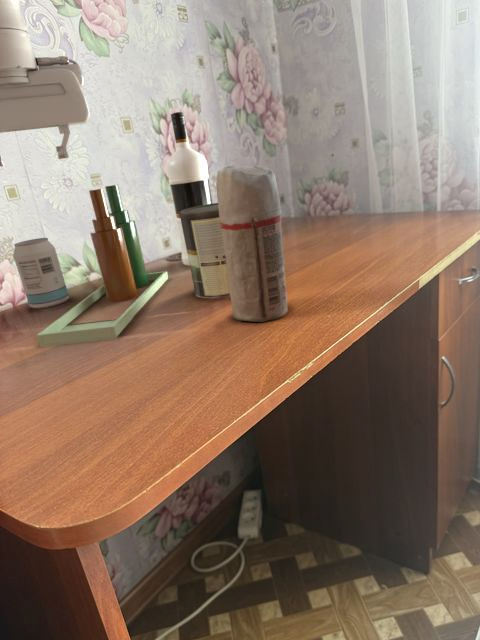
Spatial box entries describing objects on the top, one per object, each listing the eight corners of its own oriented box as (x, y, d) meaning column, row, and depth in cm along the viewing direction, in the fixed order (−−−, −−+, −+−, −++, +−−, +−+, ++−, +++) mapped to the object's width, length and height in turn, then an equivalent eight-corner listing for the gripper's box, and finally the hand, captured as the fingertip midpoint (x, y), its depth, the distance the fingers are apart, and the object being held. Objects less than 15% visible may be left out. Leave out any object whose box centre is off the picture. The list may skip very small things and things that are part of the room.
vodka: (196, 270, 103) (166, 111, 92) (175, 265, 110) (145, 117, 99) (233, 259, 108) (209, 107, 96) (211, 256, 115) (186, 113, 103)
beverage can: (71, 298, 95) (52, 235, 91) (70, 307, 89) (50, 240, 84) (33, 306, 94) (12, 242, 89) (29, 315, 87) (7, 247, 83)
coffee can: (182, 299, 83) (164, 214, 78) (221, 282, 91) (207, 202, 86) (229, 303, 77) (214, 211, 72) (267, 284, 85) (255, 199, 80)
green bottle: (118, 292, 93) (91, 188, 86) (126, 284, 97) (102, 186, 90) (145, 288, 92) (120, 184, 85) (152, 281, 97) (130, 182, 90)
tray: (40, 348, 70) (36, 335, 69) (114, 287, 99) (111, 277, 98) (117, 339, 69) (113, 326, 68) (169, 280, 98) (166, 271, 97)
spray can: (262, 302, 76) (242, 163, 68) (302, 308, 70) (286, 158, 63) (220, 319, 71) (194, 171, 63) (260, 328, 65) (237, 167, 58)
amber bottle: (103, 304, 86) (74, 193, 79) (114, 295, 90) (86, 190, 83) (133, 301, 85) (105, 188, 78) (141, 292, 90) (116, 185, 83)
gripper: (75, 59, 77) (98, 154, 83) (-74, 69, 70) (-39, 172, 76) (79, 50, 72) (103, 152, 77) (-82, 60, 65) (-44, 171, 70)
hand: (31, 162), depth 76 cm, fingers open, 8 cm apart
